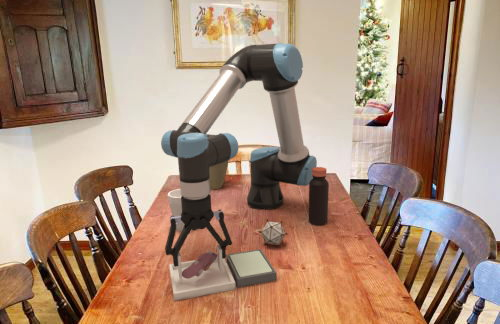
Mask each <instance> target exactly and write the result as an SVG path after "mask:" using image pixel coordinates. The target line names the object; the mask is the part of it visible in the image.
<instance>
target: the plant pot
mask: <svg viewBox="0 0 500 324" xmlns="http://www.w3.org/2000/svg"><path fill="white" fill-rule="evenodd" d="M228 166H229V161H226V162H223V163H220V164H217V165H214V166H212V167H209V174H210V190H217V189H221V188H222V187H223V186H224V182H225V180H226V175H227V172H228Z"/></svg>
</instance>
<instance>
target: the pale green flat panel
mask: <svg viewBox="0 0 500 324" xmlns="http://www.w3.org/2000/svg"><path fill="white" fill-rule="evenodd" d="M230 260H231V262H232V264H233V266H234V268H235V270H236V272H237V274H238V276H239V278H242V277H247V276H253V275H258V274H264V273H269V272H273V271H272V269H271V268H270V266H269V265H268V263H267V262H266V260H265V259H264V257H263V256H262V254H261V253H260V251H253V252H246V253H240V254H234V255H230Z"/></svg>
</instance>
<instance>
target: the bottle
mask: <svg viewBox="0 0 500 324" xmlns="http://www.w3.org/2000/svg"><path fill="white" fill-rule="evenodd" d="M312 176H313V179H312V180H311V181H310V182H309V185H308V222H309V224H311V225H314V226H324V225H326V224H328V220H329V219H328V215H329V214H328V213H329V211H328V210H329V189H330V188H329V187H330V184H329V181H328V180H327V179H326V177H327V168H326V167H323V166H316V167H314V168H312Z"/></svg>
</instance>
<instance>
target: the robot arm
mask: <svg viewBox="0 0 500 324" xmlns="http://www.w3.org/2000/svg"><path fill="white" fill-rule="evenodd" d="M303 68H304V63H303V58H302V55H301V53H300V51H299V49H298V47H296V46H295V45H294V44H292V43H283V42H278V43H267V44H250V45H248V46H247V45H246V46H244V47H243V48H241V49H239V50H238V51H236V52H235V53H233V54H232V56H230V57H229V58H228V59H227V60H226V61H225V62H224V64H223V65H222V66H221V67H220V69H219V75H218V76H217V78H216V79H215V80H214V81H213V83H211V84H212V85H211V86H210V87H209V88H208V89H207V91H205V93H204V95H203V96H202V97H201V98H200V99H199V101H198V102H197V103H196V105H195V106H194V107H193V109H192V110H191V112H189V113H188V115H187V116H186V117H185V119H184V120H183V122H182V123H181V124H180V125H179V127H177V129H172V130H168V131H165V132H164V134H163V135H162V138H161V143H160V145H161V150H162V152H163V153H164V154H166V155H167V156H170V157H174V158H176V159H177V163H178V175H179V189H180V191H181V195H182V197H181V205H182V213H181V216H177V217H174V216H172V215H170V217H169V220H170V227H169V230H168V234H167V239H166V243H165V248H164V251H165V255H166V256H172V264H174V266H175V267H176V266H178V273H179V278H180V279H182V266H181V262H182V258H181V257H182V255H181V249H182V247H183V245H184V244H185V241H186V240H187V237H188V236H189V235H190V233H191V231H197V230H205V229H206V230H208V232H209V233H210V234H211V236H212V237H213V238H214V239H215V241H216V243H217V245H216V251H217V255H218V256H217V257H218V268H219V270H220V272H222V271H223V264H222V259H224V258H225V259H226V254H227V253H226V252H227V247H228V246H232V244H233V241H232V238H231V236H230V234H229V230H228V228H227V226H226V225H227V224H226V223H225V213H224V212H223V210H222V209H221V208H220V209H218V210H216V211H213V210H212V197H211V194H210V193H211V189H210V174H209V167H212V166H214V165H217V164H220V163H223V162H226V161H228V162H229V161H230V160H232V159H234V158H235V157H236V156H237V154H238V151H239V142H238V140H237V139H236V137H235V135H233V134H231V133H229V132H224V133H222V132H221V133H218V134H210V133H209V134H208V132H209V130H210V129H211V128H212V126H213V125H214V124H215V122H216V120H218V119H219V117H220V115H221V114H222V113H223V111H224V110H225V108H226V107H227V106H228V105H229V103H230V101H231V100H232V99H233V97H234V96H235V95H236V93H237V91H238V90H241V89H243V88H244V87H246V84H248V83H249V82H254V81H255V82H256V81H257V82H258V81H259V82H261V83H262V85H263V86H262V87H263V90H264V91H266V92H267V93H269V97H270V103H271V108H272V113H273V117H274V123H275V127H276V132H277V137H278V143H279V147H278V146H265V147H258V148H255V149H254V150H252V151H251V152H250V158H249V159H250V160H249V162H250V164H249V165H250V186H249V187H250V188H249V191H248V194H247V198H246V203H247V205H248V206H249V207H250V208H252V209H256V210H264V211H265V210H275V209H278V208H281V207H282V206H284V204H285V198H284V194H283V191H282V189H281V186H280V183H282V184H283V183H284V184H290V185H296V186H304V187H305V186H309V182H310V181H311V180H312V179H313V176H312V168H314V167H318V166H317V164H318V162H317V161H318V160H317V158H316V156H314V155H311V154H310V150H309V148H308V147H307V146H306V145H305V144H304V139H303V133H302V131H303V130H302V126H301V120H300V115H299V108H298V101H297V96H296V95H297V94H296V91H295V90H296V89H295V88H296V86H297V85H298V84H299V80H301V77H302V75H303V71H304V70H303ZM214 217H215V219H216V220H217V221H218V222H219V225H220V229H221V230H222V234H223V236H224V238H225V239H222V237H221V236H220V234H219V233H218V232H217V231H216V229H215V228H214V227H213V225H212V224H211V223H210V222H211V221H212V220H213V218H214ZM180 221H182V222H183V223H184V224H185V225H184V227H183V230H182V231H180V234H179V235H178V237H177V240H176V242H175V243H174V241H175V240H174V239H175V236H176V233H177V230H176V226H177V225H179V222H180Z"/></svg>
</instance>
